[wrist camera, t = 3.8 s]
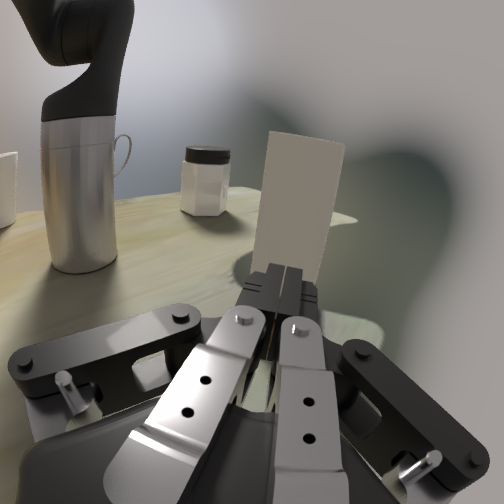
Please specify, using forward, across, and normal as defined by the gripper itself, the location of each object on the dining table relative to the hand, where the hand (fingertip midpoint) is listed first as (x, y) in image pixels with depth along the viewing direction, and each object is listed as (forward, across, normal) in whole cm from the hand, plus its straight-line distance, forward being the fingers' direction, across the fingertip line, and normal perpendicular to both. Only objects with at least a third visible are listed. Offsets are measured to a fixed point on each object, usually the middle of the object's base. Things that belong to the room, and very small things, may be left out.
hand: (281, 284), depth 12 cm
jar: (+38, +17, +10) cm, 43 cm away
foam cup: (+16, +52, +10) cm, 56 cm away
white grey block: (+9, 0, +8) cm, 12 cm away
